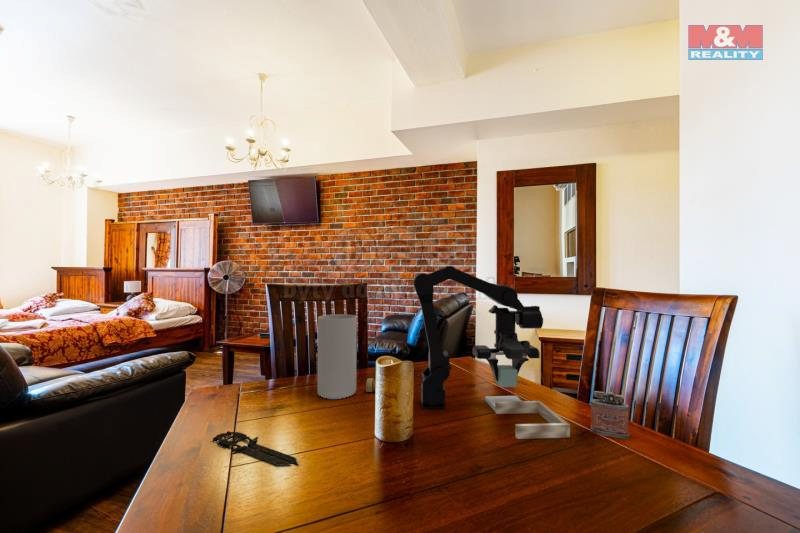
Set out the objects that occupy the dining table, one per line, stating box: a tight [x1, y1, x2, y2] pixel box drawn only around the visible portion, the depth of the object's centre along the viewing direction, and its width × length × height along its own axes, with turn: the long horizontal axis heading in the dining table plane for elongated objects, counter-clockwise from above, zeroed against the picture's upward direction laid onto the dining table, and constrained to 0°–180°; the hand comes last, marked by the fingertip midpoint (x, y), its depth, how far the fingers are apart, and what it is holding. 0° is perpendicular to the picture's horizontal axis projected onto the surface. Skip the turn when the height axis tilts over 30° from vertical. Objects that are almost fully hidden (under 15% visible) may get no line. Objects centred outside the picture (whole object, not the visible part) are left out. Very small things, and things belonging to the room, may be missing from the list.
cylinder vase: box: [317, 313, 358, 400], centre depth 108 cm, size 12×12×25 cm
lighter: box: [590, 390, 630, 439], centre depth 81 cm, size 8×3×10 cm, turn 65°
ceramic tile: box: [484, 395, 523, 412], centre depth 99 cm, size 10×8×1 cm
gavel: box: [365, 377, 376, 393], centre depth 118 cm, size 21×5×10 cm
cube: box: [494, 364, 518, 388], centre depth 99 cm, size 5×5×5 cm
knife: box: [212, 430, 299, 466], centre depth 72 cm, size 25×6×1 cm, turn 57°
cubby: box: [494, 400, 571, 440], centre depth 86 cm, size 13×15×3 cm
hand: (505, 380), depth 99 cm, fingers closed on cube, 5 cm apart
